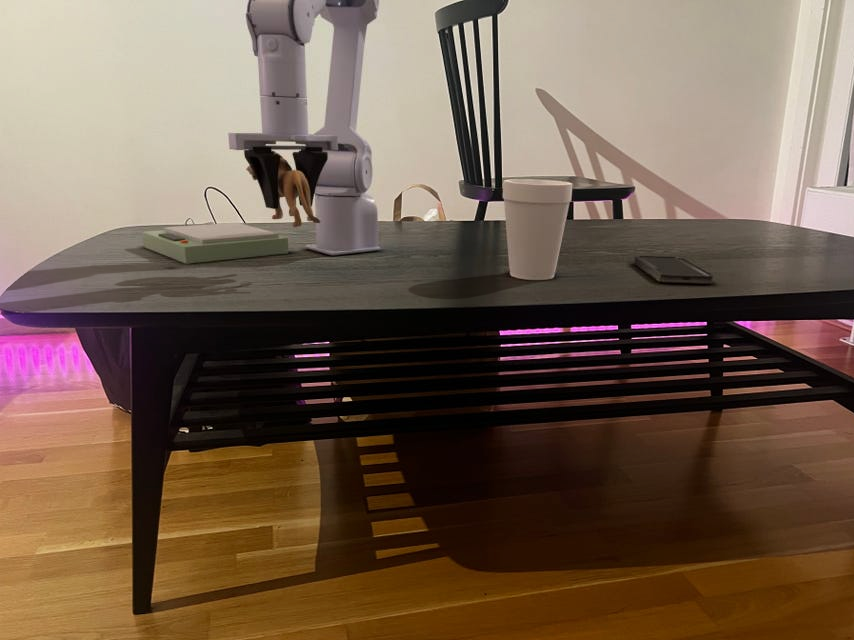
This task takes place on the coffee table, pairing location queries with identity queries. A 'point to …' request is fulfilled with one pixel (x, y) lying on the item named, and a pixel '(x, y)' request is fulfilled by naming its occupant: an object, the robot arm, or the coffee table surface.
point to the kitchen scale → (214, 242)
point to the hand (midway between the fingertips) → (289, 207)
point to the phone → (673, 270)
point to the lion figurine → (292, 192)
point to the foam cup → (535, 225)
